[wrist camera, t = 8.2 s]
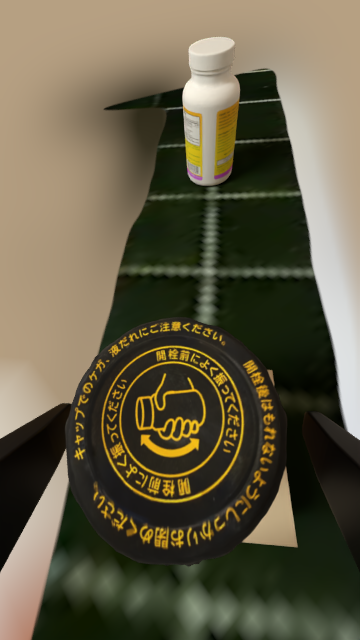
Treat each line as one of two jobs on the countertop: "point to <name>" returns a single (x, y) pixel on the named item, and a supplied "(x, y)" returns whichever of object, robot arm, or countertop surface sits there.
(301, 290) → the countertop surface
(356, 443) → the robot arm
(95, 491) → the condiment
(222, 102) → the supplement bottle
